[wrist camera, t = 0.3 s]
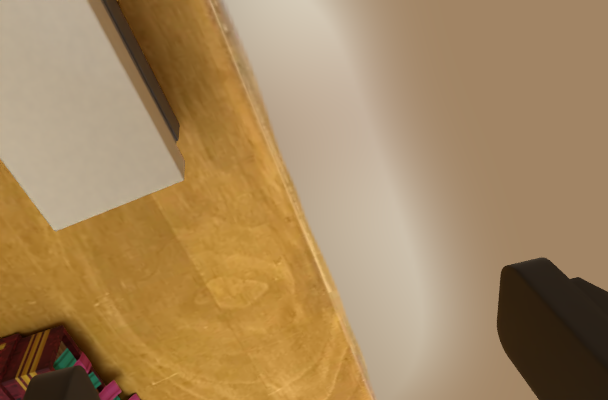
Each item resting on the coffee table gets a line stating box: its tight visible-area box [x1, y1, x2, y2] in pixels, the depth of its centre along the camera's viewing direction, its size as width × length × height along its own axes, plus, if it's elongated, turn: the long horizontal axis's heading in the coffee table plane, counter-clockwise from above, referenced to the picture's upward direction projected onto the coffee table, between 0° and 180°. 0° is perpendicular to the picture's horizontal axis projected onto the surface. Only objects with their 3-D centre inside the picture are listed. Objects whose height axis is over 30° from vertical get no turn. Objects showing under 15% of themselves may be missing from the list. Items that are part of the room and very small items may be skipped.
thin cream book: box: [0, 0, 185, 231], centre depth 19 cm, size 11×6×2 cm, turn 19°
